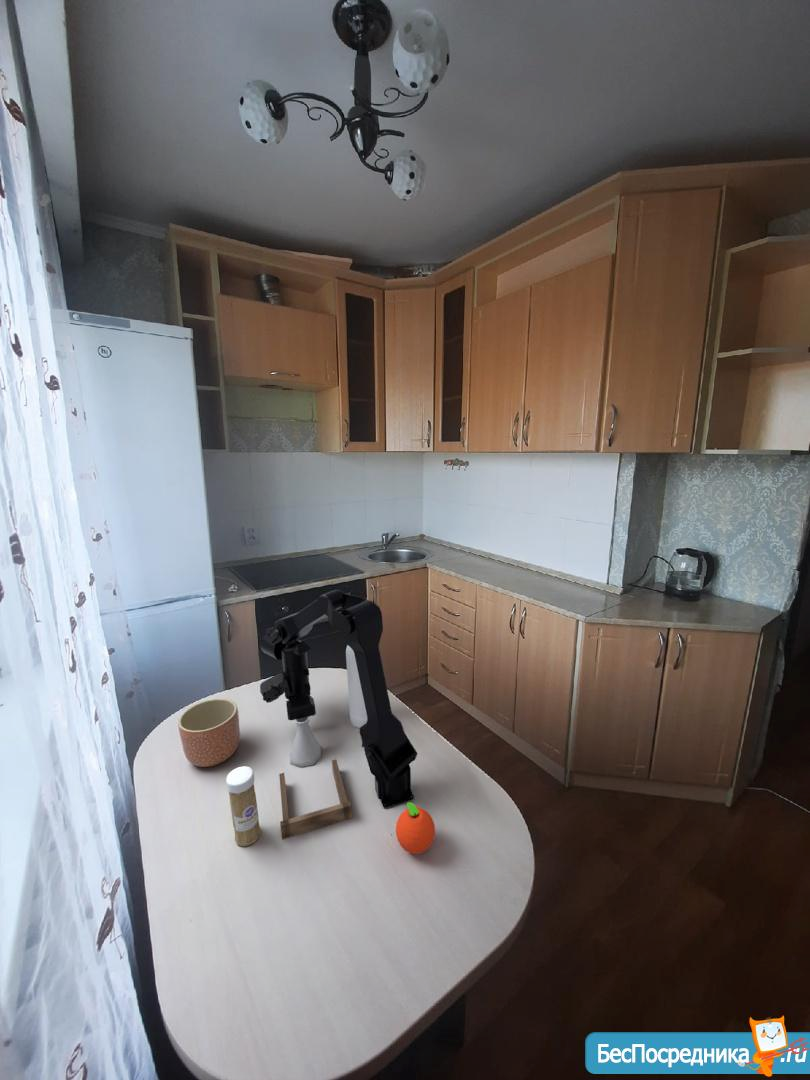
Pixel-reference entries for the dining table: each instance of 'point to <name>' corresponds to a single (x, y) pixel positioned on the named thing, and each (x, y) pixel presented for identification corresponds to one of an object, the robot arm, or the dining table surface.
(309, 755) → the flask
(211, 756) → the planter
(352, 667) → the bottle
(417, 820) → the clementine
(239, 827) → the sprinkles bottle
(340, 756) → the dining table surface
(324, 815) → the bay
